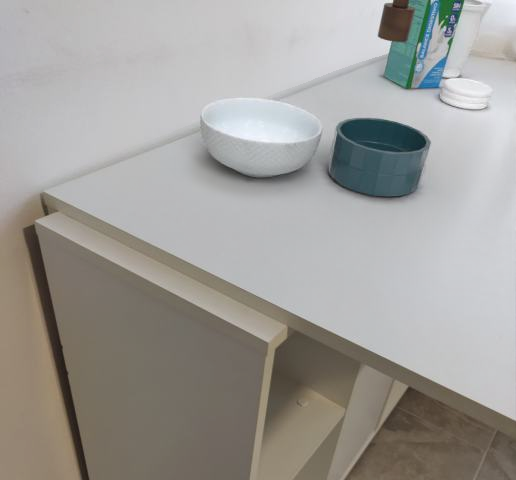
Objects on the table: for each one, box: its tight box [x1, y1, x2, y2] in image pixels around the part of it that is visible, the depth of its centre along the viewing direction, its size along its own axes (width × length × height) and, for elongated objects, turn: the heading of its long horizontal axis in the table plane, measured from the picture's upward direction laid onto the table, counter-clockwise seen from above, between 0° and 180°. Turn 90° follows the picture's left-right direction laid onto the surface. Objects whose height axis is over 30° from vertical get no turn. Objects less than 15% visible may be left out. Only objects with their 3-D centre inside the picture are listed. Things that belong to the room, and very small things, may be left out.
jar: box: [442, 0, 487, 79], centre depth 124 cm, size 11×10×15 cm
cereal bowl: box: [199, 97, 323, 179], centre depth 76 cm, size 17×17×7 cm
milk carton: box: [383, 0, 465, 90], centre depth 112 cm, size 9×9×25 cm
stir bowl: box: [328, 117, 432, 197], centre depth 77 cm, size 13×13×6 cm
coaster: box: [439, 77, 493, 110], centre depth 111 cm, size 10×10×4 cm
